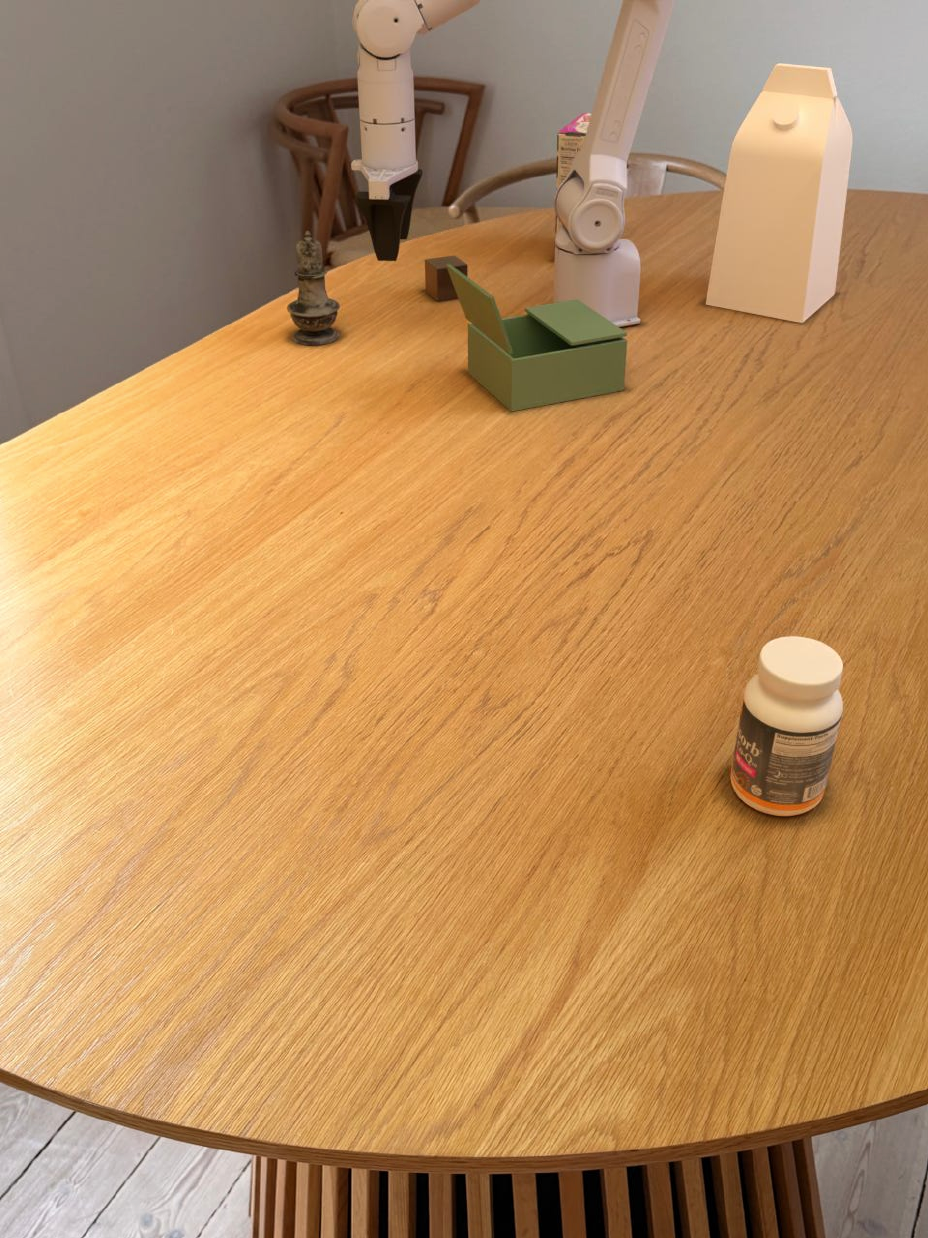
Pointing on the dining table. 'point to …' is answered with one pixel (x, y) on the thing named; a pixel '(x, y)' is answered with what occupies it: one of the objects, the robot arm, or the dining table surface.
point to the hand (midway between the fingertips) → (392, 248)
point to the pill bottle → (788, 727)
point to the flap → (479, 308)
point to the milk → (784, 199)
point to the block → (442, 277)
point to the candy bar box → (569, 149)
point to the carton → (550, 356)
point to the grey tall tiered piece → (312, 297)
